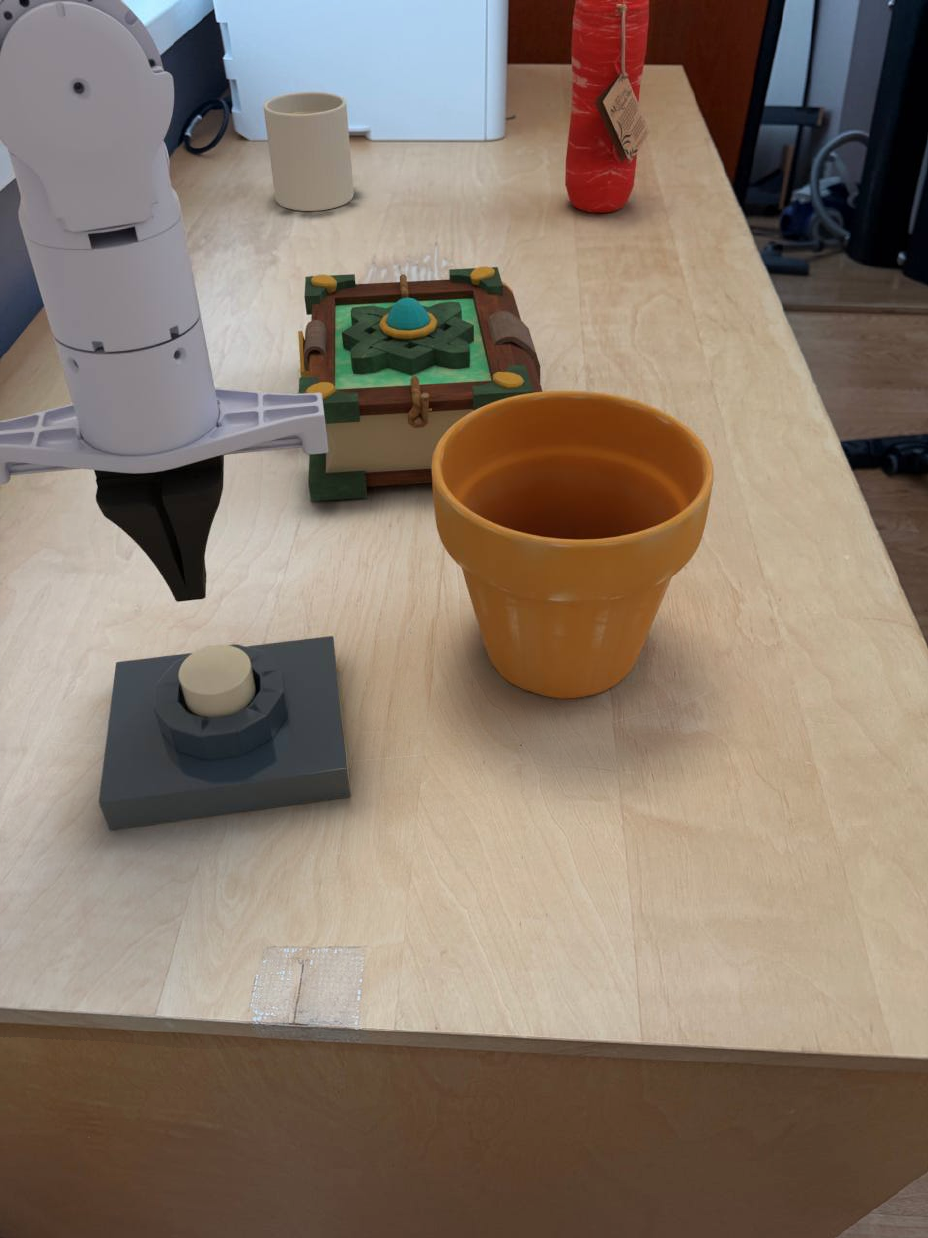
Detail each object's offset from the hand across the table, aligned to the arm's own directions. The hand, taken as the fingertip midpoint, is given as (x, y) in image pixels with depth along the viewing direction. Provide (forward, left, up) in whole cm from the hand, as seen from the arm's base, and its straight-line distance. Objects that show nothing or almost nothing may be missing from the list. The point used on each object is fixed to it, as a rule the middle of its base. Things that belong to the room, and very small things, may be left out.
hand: (191, 587), depth 50 cm
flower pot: (+19, +3, -10) cm, 22 cm away
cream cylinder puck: (0, -1, -6) cm, 6 cm away
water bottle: (+40, +71, -10) cm, 82 cm away
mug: (+10, +82, -10) cm, 83 cm away
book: (+13, +33, -10) cm, 37 cm away
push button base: (0, -1, -10) cm, 10 cm away
